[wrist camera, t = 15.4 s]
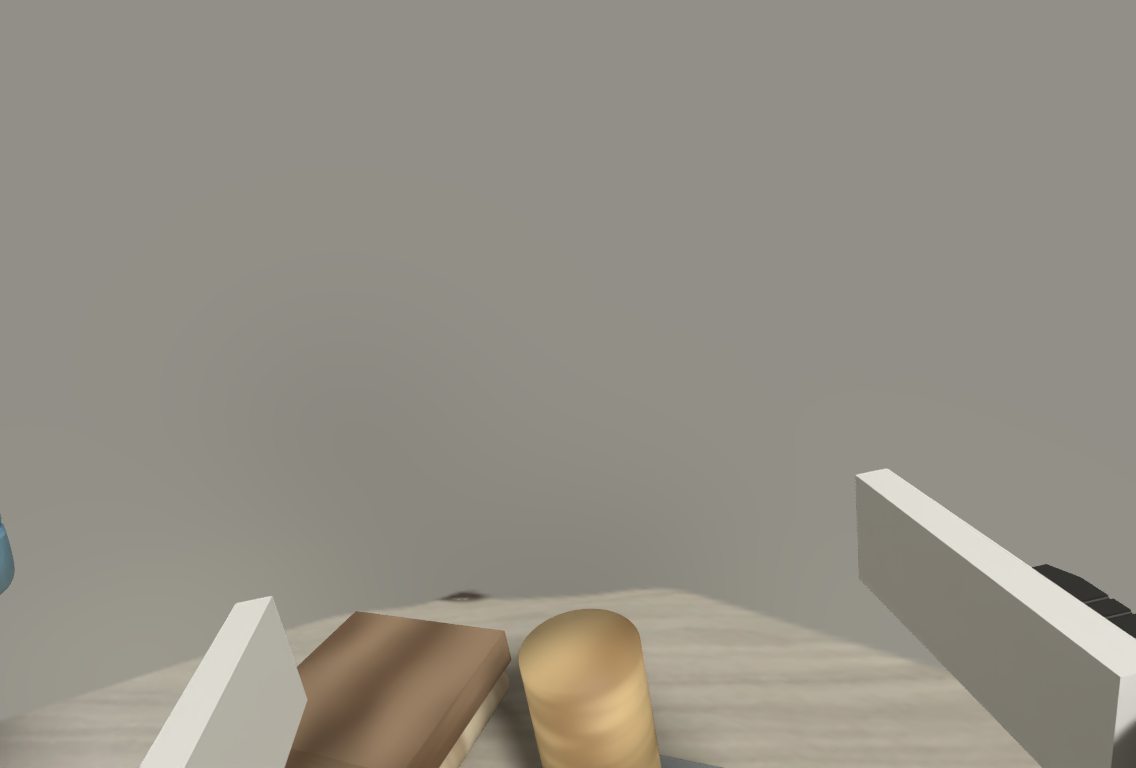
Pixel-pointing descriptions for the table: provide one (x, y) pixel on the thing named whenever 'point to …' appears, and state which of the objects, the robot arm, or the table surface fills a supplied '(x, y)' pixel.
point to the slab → (398, 693)
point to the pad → (681, 763)
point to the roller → (589, 692)
